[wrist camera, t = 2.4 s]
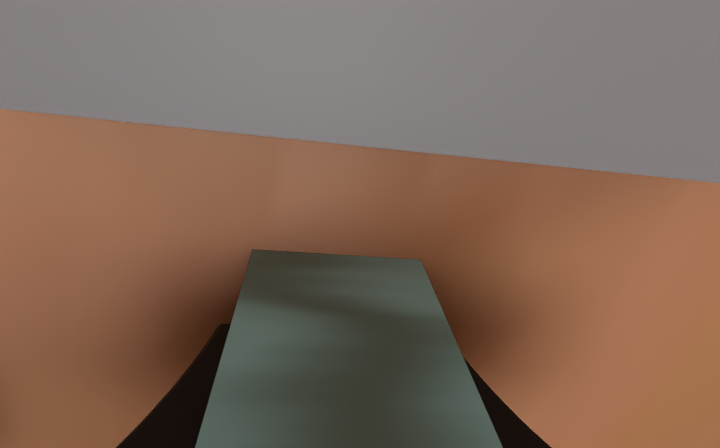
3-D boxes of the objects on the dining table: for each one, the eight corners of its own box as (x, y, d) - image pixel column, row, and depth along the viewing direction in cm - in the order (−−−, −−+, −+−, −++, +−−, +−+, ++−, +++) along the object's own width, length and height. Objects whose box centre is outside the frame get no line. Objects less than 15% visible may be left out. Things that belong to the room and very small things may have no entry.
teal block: (251, 374, 13) (208, 603, 8) (252, 249, 11) (194, 450, 6) (393, 376, 14) (438, 588, 9) (420, 259, 12) (503, 447, 7)
